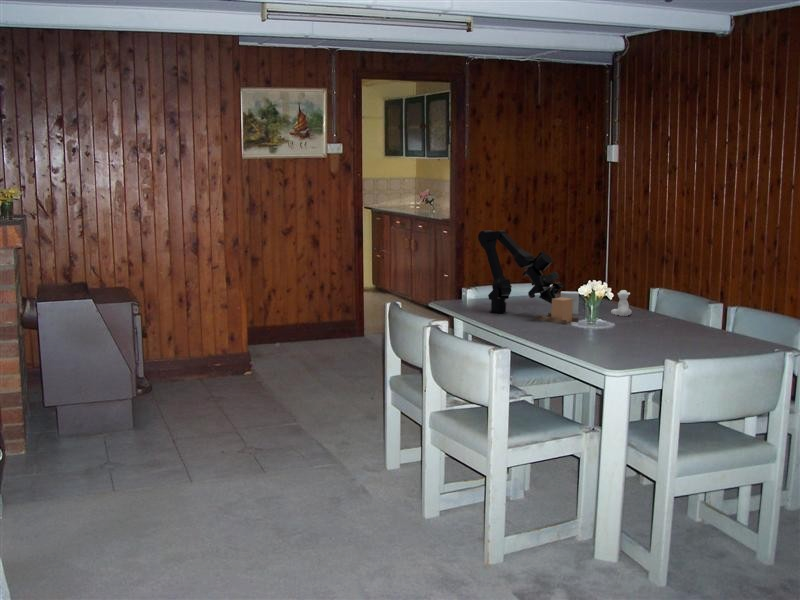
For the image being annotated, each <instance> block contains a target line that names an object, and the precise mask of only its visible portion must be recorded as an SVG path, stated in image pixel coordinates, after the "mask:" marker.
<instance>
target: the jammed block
mask: <svg viewBox="0 0 800 600" xmlns="http://www.w3.org/2000/svg"><path fill="white" fill-rule="evenodd" d="M572 310H573V299H570V298H564V297H555V298H554V299H552V304H551V312H550V313H551V318H557V319H563V320H567V323H573V322H572V317H573V314H572Z"/></svg>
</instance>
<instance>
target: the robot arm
mask: <svg viewBox="0 0 800 600" xmlns="http://www.w3.org/2000/svg"><path fill="white" fill-rule="evenodd" d="M477 240H478V242H479V245H480V246H481V247H482V248H483V249H484V251H485V254H486V256H487V261H488V265H489V269H490V271H491V275H492V278H493V279H492V285H491V288H492V290H491V291H490V292H489V294H488V295H487V296H488V299H489V300H491V303H490V305H491V307H490V309H491V310H490V311H489V312H491V314H505V313H506V312H507V309H508V302H506V301H507V300H508V299H509V297H510V295H511V293H512V288H513V286H512V285H511V281H510V278H508V279H507V278H506V277H505V276H504V273H503V269H502V266H501V262H500V258H499V255H498V252H497V242H498V241H499V242H500V244H502V246H504V248H505V249H506V250H507V252H509V253H510V254H511V255H512V257H513V260H514V263H515V264H516V266H518V268H521V269H523V268H526V269H523V270H522V271H523V272H522V277H528V278H529V280H530V281H531V283H530V284H531V286H532V288H530V290H528V292H527V293H528V295H527V296H528V297H529V299H535V297H536V294H539V295H540V296H539V297H538V298H539V299H542V300H544V301H545V302H547V303H549V304H550V305H552V299H554V298H556V295H557V293H559V292H560V291H561V289H563V288H564V284H563V283H562V282H555V281H558V280H559V278H560V274H559V273H558V272H557V271H553V272H550V273H548V274H543V273H542V272H544V271H545V270H546V269H547V268H549V266H550V265H551V264H552V263H553V259H552V257H551V256H550V255H549V254H547V253H545V252H544V251H540V252H539V253H538V254H537V256H536V257H534V255H532V254H531V253H529V252H528V251H526V250H524V249H522V248H521V247H520V246H519V245H518V244H517V243H516V242H515V241H514V239H512V238H511V236H509V234H508V233H507V231H506V230H503V229H502V230H496V231H494V230H490V229H488V230H480V231H479V233H478V235H477ZM553 282H554V283H553Z"/></svg>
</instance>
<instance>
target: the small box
mask: <svg viewBox="0 0 800 600" xmlns="http://www.w3.org/2000/svg"><path fill="white" fill-rule="evenodd" d="M579 295H580V294H579V292H578V291H569V290H568V291H566V290H565V291H561V290H560V295H559V296H560V297H564V298H570V299H573V310H572V315H573V314H574V315H579V302H580V301H579V300H580V299H579V298H580V296H579ZM560 297H559V298H560Z"/></svg>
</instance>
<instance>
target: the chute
mask: <svg viewBox="0 0 800 600" xmlns="http://www.w3.org/2000/svg"><path fill="white" fill-rule="evenodd" d="M535 320H537V321H541V322H542V321H543V322H547V323H548V322H549V323H554V324H559V325H565V326H566V325H568V324H567V323H568V322H567V320H563V319H557V318H551V312H547V316H546V315H540V314H539V315H538V314H536V315H535ZM579 320H580V318H579V317H575V316H572V322H571V323H573V322H574V323H579V322H580V321H579Z"/></svg>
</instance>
